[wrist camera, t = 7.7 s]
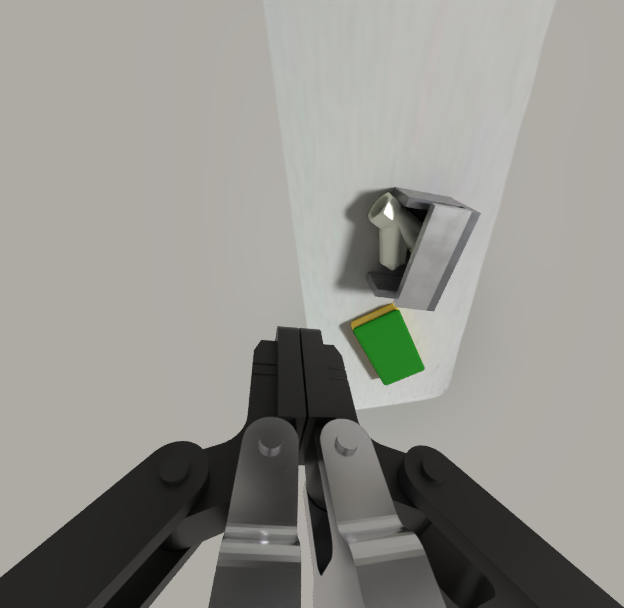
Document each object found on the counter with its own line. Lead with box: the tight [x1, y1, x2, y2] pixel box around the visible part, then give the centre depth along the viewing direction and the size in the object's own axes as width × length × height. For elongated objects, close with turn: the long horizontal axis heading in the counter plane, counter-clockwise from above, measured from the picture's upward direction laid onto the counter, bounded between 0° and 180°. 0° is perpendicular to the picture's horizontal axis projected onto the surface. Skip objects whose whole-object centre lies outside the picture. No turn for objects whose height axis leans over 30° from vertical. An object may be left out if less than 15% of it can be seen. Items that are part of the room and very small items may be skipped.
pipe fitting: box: [368, 192, 423, 270], centre depth 36 cm, size 8×4×7 cm
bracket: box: [367, 187, 481, 311], centre depth 35 cm, size 12×7×6 cm, turn 170°
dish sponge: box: [351, 303, 425, 385], centre depth 47 cm, size 7×14×2 cm, turn 28°
